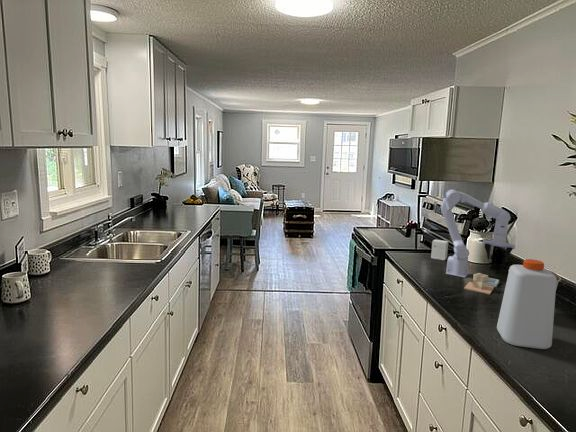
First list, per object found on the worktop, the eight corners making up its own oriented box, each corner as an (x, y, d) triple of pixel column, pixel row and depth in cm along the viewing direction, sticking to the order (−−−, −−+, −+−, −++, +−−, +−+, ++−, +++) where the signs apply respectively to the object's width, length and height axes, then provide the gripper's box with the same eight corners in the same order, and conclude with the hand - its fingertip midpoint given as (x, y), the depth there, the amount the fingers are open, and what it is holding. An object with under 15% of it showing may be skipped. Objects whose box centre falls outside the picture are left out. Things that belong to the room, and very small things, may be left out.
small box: (446, 258, 245) (448, 241, 244) (444, 260, 241) (446, 242, 239) (432, 256, 250) (434, 239, 248) (430, 258, 245) (432, 240, 243)
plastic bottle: (538, 332, 151) (550, 257, 146) (555, 352, 136) (568, 270, 131) (493, 326, 154) (503, 253, 149) (504, 345, 140) (516, 265, 135)
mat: (463, 288, 194) (464, 287, 194) (469, 282, 203) (469, 281, 203) (489, 294, 188) (489, 293, 188) (494, 288, 197) (494, 286, 196)
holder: (478, 283, 203) (478, 280, 203) (481, 279, 209) (481, 276, 209) (496, 286, 198) (496, 283, 198) (498, 282, 205) (499, 279, 204)
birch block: (472, 286, 196) (473, 274, 195) (477, 285, 198) (479, 272, 197) (480, 289, 192) (482, 277, 191) (486, 287, 195) (488, 275, 193)
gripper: (517, 235, 206) (514, 261, 209) (486, 230, 214) (482, 256, 217) (515, 237, 201) (512, 264, 203) (483, 232, 209) (480, 258, 211)
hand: (496, 260), depth 210 cm, fingers open, 7 cm apart
